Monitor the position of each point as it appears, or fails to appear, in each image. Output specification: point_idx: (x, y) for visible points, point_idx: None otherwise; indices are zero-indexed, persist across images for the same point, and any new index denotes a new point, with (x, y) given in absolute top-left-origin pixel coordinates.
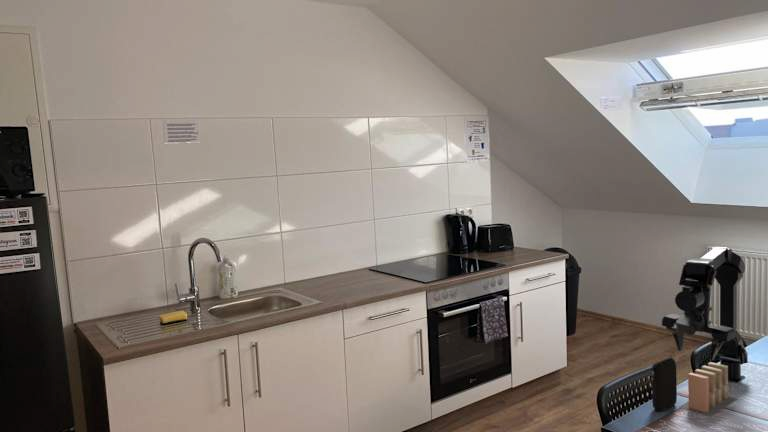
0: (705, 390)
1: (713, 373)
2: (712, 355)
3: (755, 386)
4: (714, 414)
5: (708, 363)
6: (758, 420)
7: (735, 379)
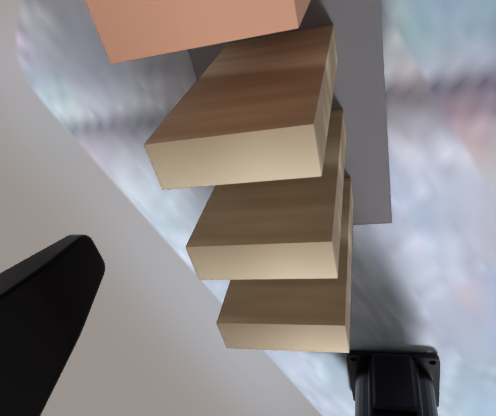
0: None
1: (164, 174)
2: (2, 276)
3: (291, 359)
4: None
5: (339, 326)
6: (54, 102)
7: (361, 369)
